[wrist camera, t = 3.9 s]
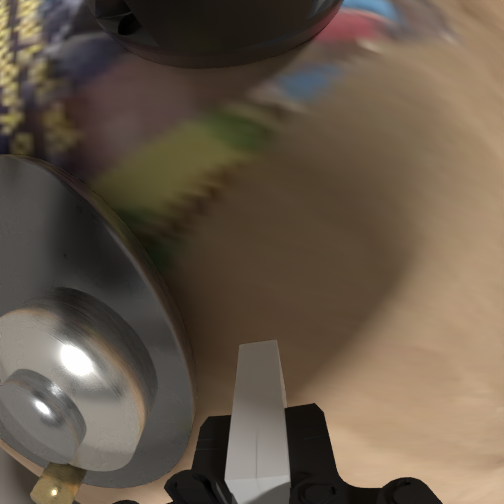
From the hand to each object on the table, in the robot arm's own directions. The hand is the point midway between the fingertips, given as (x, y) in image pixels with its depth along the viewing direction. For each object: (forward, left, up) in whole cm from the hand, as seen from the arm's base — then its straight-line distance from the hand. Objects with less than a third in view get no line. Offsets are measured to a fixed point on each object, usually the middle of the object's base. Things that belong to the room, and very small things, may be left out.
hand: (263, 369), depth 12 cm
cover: (0, -10, -1) cm, 10 cm away
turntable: (0, -17, -3) cm, 17 cm away
